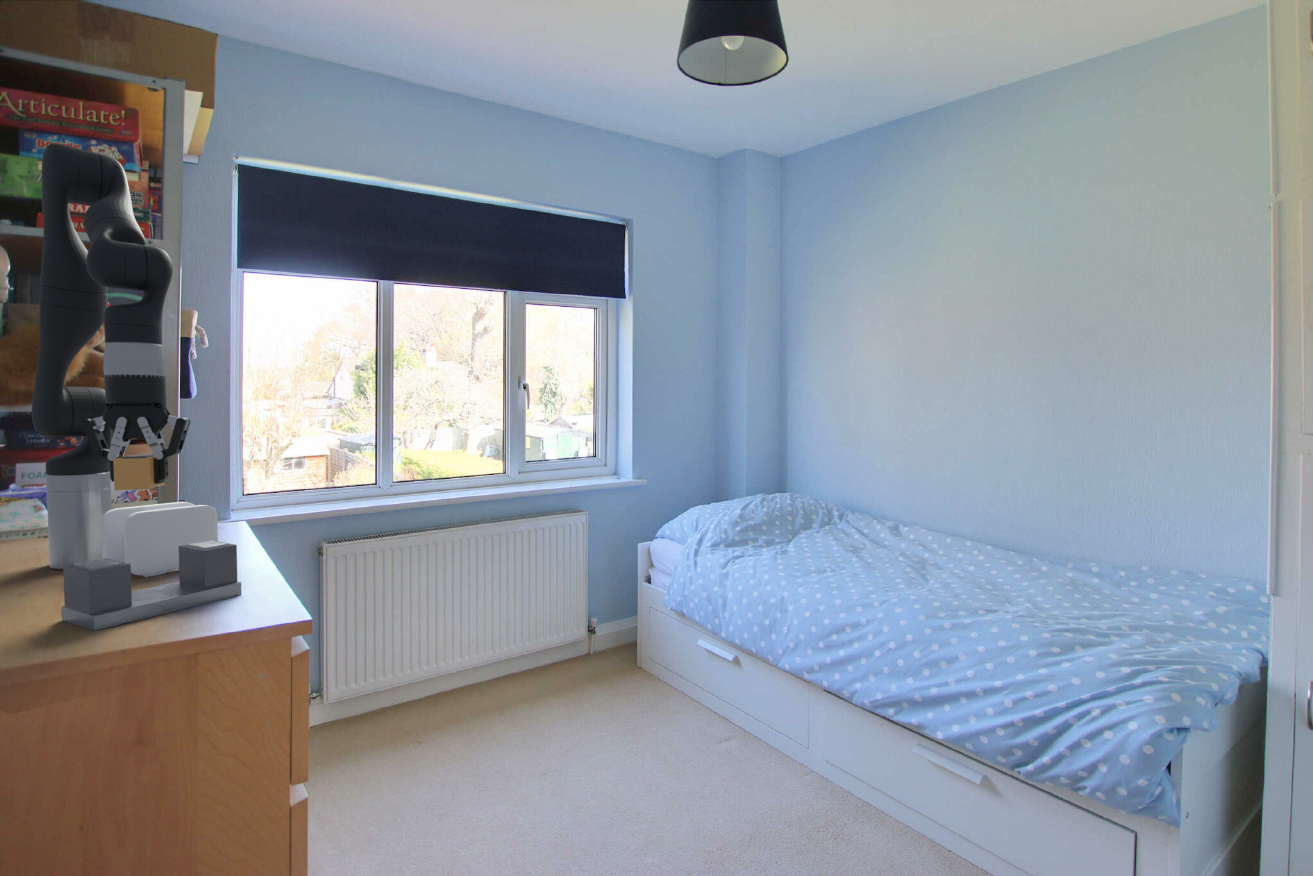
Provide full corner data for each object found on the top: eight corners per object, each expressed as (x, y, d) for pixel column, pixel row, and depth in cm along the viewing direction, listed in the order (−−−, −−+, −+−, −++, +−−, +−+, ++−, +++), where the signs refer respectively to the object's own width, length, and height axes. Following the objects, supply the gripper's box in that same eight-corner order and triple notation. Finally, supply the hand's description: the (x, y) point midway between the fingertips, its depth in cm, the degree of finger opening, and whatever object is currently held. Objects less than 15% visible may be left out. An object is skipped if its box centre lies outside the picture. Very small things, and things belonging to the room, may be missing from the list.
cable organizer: (122, 582, 117) (120, 514, 117) (101, 572, 123) (99, 508, 123) (219, 565, 130) (217, 504, 129) (195, 557, 136) (193, 499, 135)
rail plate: (61, 620, 97) (59, 563, 96) (208, 586, 115) (207, 538, 114) (94, 631, 93) (92, 571, 92) (241, 594, 111) (240, 544, 110)
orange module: (130, 486, 109) (129, 454, 109) (164, 484, 110) (163, 453, 110) (114, 490, 103) (113, 457, 103) (149, 488, 104) (148, 456, 104)
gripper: (196, 375, 112) (200, 479, 112) (91, 374, 107) (96, 483, 108) (180, 372, 105) (185, 484, 105) (66, 372, 100) (72, 488, 101)
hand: (139, 483), depth 107 cm, fingers closed on orange module, 4 cm apart
